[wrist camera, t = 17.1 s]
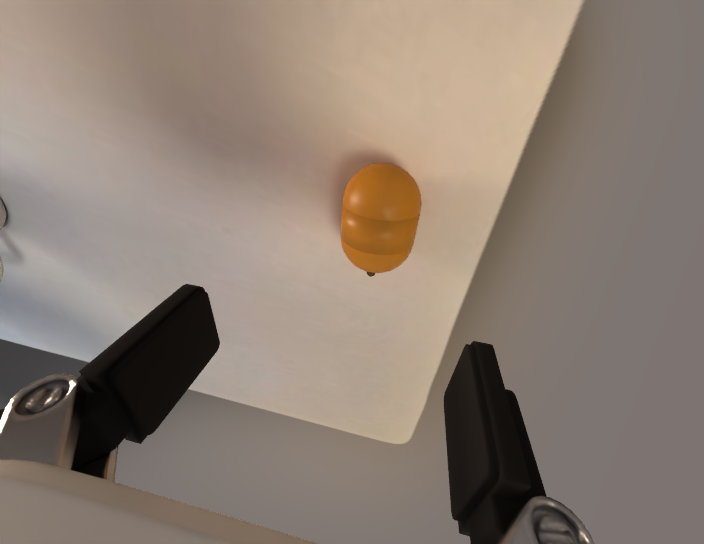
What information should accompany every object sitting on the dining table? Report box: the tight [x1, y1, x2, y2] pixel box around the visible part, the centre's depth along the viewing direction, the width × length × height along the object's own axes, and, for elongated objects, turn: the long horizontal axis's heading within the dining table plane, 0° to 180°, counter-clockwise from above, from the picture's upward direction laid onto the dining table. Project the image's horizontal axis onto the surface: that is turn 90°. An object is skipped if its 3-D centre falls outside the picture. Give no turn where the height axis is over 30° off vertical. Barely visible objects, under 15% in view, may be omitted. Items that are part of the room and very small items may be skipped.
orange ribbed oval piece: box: [341, 163, 421, 276], centre depth 20 cm, size 8×5×5 cm
